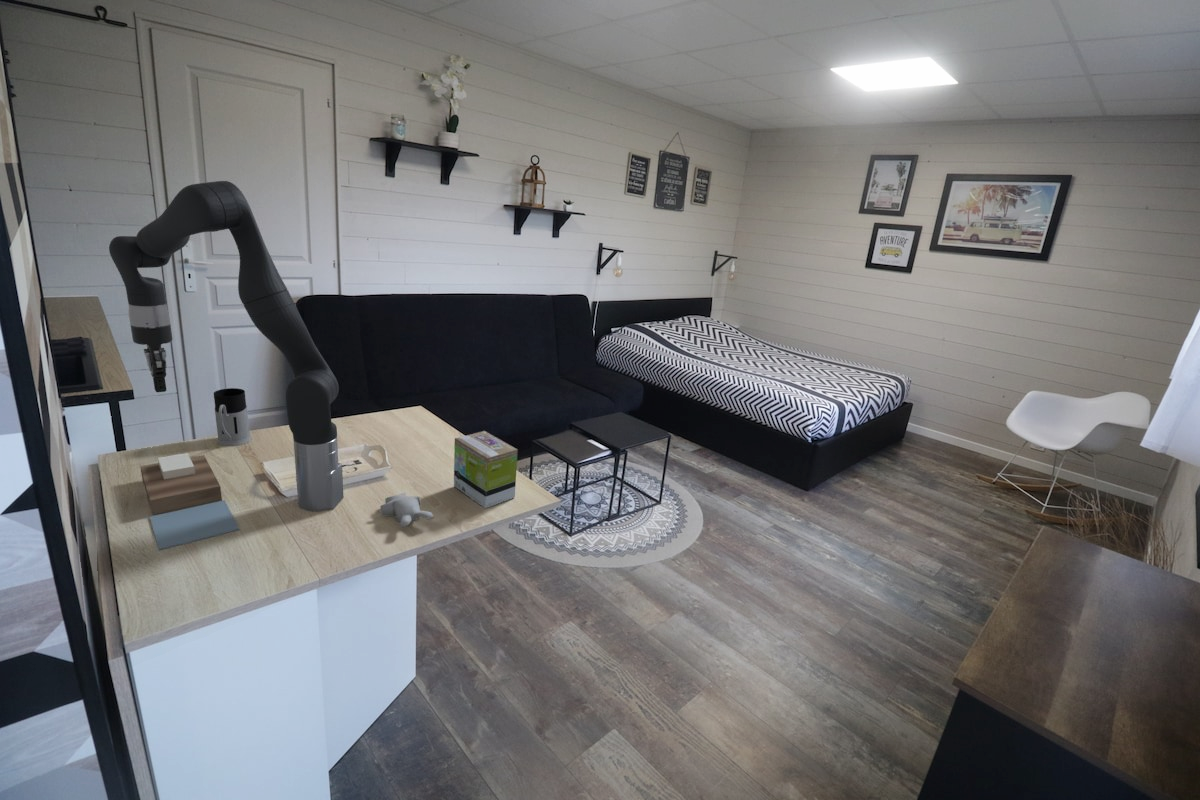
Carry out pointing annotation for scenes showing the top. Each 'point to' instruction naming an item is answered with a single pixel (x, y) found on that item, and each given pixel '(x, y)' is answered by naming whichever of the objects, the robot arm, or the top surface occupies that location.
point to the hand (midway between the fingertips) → (160, 391)
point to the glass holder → (231, 417)
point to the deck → (180, 487)
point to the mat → (192, 524)
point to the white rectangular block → (176, 466)
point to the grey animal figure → (404, 509)
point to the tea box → (485, 468)
